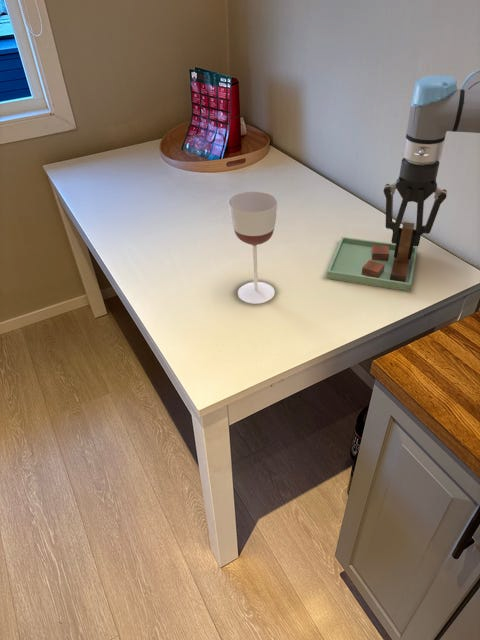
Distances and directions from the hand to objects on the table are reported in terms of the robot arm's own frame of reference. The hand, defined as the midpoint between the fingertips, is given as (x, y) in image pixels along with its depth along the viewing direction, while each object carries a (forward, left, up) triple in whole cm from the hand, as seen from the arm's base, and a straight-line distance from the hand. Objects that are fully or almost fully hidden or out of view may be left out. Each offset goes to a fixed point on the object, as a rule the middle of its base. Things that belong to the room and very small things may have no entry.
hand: (402, 255), depth 115 cm
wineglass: (+31, +19, -4) cm, 36 cm away
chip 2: (+6, +4, -4) cm, 8 cm away
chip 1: (+6, -4, -4) cm, 8 cm away
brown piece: (0, 0, -4) cm, 4 cm away
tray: (+7, 0, -4) cm, 8 cm away
